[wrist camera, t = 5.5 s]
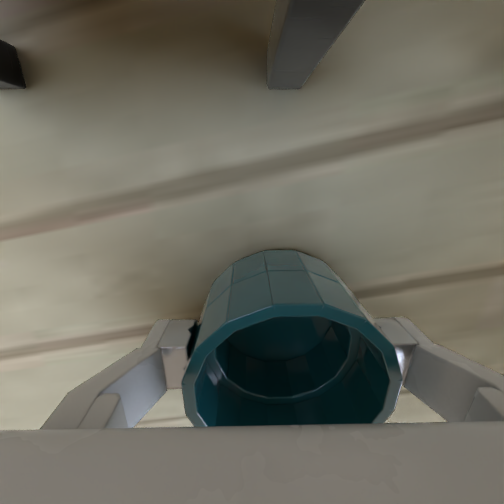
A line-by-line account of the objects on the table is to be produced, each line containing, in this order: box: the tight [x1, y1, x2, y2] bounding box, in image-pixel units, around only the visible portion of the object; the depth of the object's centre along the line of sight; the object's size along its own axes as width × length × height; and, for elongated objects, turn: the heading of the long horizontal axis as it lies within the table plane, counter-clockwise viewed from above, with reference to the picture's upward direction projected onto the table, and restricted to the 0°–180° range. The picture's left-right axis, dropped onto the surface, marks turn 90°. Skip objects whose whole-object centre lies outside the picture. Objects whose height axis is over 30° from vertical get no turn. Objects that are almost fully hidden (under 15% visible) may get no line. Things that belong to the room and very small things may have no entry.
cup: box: [181, 250, 403, 427], centre depth 10 cm, size 7×7×5 cm
